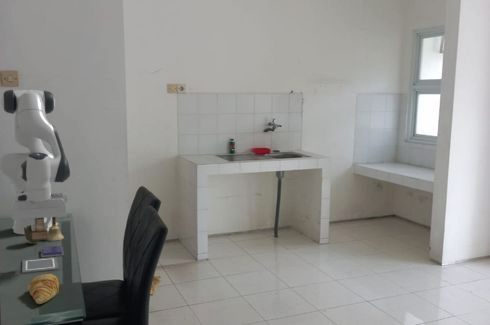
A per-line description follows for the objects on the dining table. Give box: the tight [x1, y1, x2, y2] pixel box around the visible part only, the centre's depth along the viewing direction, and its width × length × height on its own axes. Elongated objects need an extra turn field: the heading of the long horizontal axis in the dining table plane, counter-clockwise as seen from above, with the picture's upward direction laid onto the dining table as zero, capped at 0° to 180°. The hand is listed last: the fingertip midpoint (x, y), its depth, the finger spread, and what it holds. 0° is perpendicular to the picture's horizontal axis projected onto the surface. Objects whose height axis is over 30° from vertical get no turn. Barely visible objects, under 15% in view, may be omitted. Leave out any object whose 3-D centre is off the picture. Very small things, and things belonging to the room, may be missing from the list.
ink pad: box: [40, 245, 65, 258], centre depth 202 cm, size 9×9×2 cm
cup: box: [24, 225, 39, 246], centre depth 212 cm, size 8×7×8 cm
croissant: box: [27, 272, 60, 305], centre depth 163 cm, size 21×10×8 cm, turn 16°
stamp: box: [32, 218, 49, 241], centre depth 185 cm, size 6×6×8 cm
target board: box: [21, 256, 59, 274], centre depth 188 cm, size 13×13×1 cm
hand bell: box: [45, 217, 65, 242], centre depth 220 cm, size 8×8×16 cm
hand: (39, 228), depth 185 cm, fingers closed on stamp, 3 cm apart
